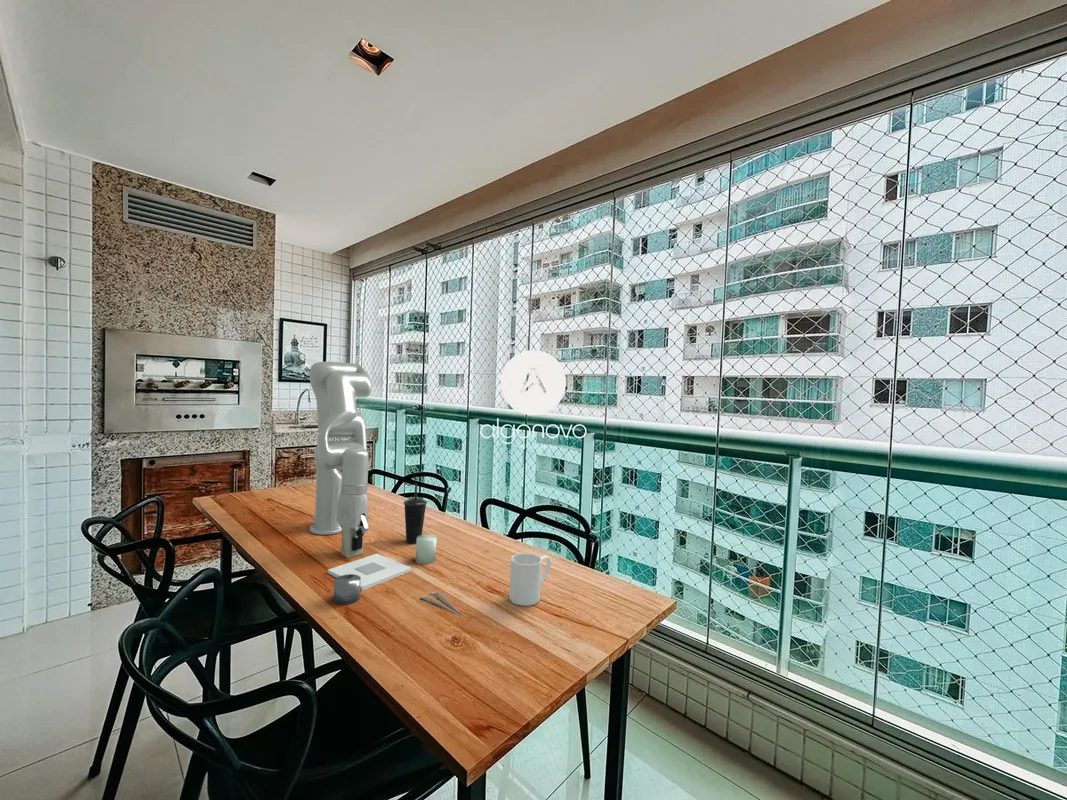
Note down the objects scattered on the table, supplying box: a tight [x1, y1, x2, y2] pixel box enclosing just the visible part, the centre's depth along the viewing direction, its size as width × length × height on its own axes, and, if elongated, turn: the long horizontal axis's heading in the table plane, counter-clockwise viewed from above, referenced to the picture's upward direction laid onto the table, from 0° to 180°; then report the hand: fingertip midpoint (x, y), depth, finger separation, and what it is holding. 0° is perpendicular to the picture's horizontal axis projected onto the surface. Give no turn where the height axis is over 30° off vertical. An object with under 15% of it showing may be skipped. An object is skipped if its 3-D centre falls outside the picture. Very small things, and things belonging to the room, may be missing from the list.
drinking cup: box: [403, 482, 428, 545], centre depth 151 cm, size 8×8×20 cm
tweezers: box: [420, 590, 465, 618], centre depth 109 cm, size 17×5×2 cm, turn 49°
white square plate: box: [327, 553, 413, 591], centre depth 126 cm, size 16×16×1 cm
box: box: [340, 524, 364, 559], centre depth 138 cm, size 5×4×11 cm
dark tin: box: [333, 574, 361, 606], centre depth 110 cm, size 6×6×5 cm
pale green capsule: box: [415, 534, 438, 565], centre depth 137 cm, size 6×6×7 cm
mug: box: [508, 552, 552, 607], centre depth 116 cm, size 12×8×10 cm, turn 130°
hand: (352, 546), depth 138 cm, fingers closed on box, 4 cm apart
